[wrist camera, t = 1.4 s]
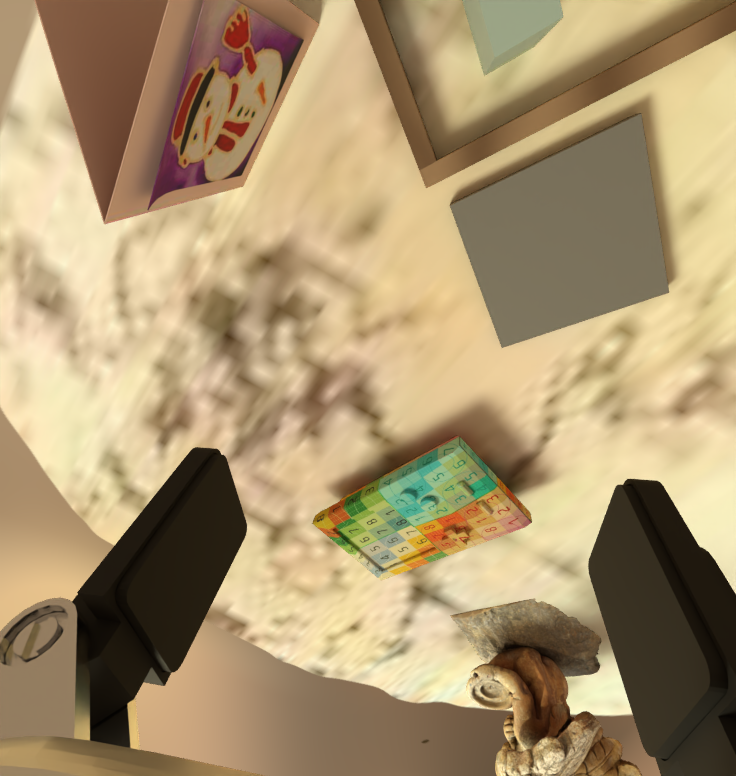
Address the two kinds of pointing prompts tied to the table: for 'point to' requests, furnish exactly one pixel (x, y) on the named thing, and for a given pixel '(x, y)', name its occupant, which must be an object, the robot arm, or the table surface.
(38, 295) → the table surface
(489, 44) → the pale teal block
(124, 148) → the greeting card
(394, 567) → the puzzle game
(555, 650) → the cherub figurine
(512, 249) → the mat
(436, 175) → the brown wooden frame
